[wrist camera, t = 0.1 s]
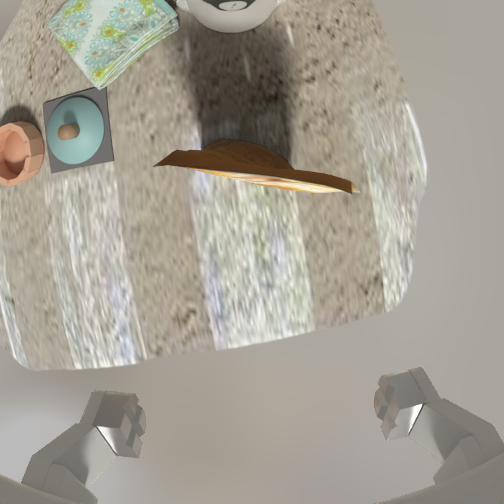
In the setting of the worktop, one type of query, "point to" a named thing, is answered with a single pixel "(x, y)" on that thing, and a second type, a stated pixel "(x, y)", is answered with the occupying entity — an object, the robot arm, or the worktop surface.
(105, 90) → the mat
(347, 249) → the worktop surface
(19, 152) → the bowl
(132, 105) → the worktop surface
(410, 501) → the robot arm
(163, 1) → the towel
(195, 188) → the worktop surface
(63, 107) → the lid
